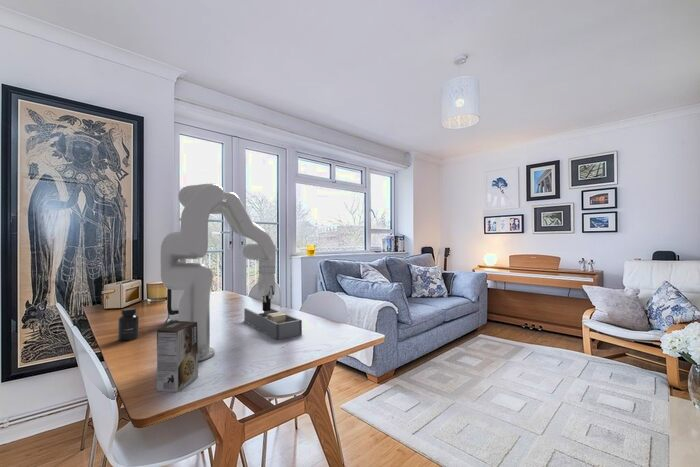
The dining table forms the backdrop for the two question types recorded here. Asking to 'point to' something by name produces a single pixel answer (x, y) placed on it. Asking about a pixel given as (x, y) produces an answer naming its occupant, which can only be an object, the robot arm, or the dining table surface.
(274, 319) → the beech block
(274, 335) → the trap box
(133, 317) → the supplement bottle
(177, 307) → the coffee press
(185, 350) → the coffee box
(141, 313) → the dining table surface
